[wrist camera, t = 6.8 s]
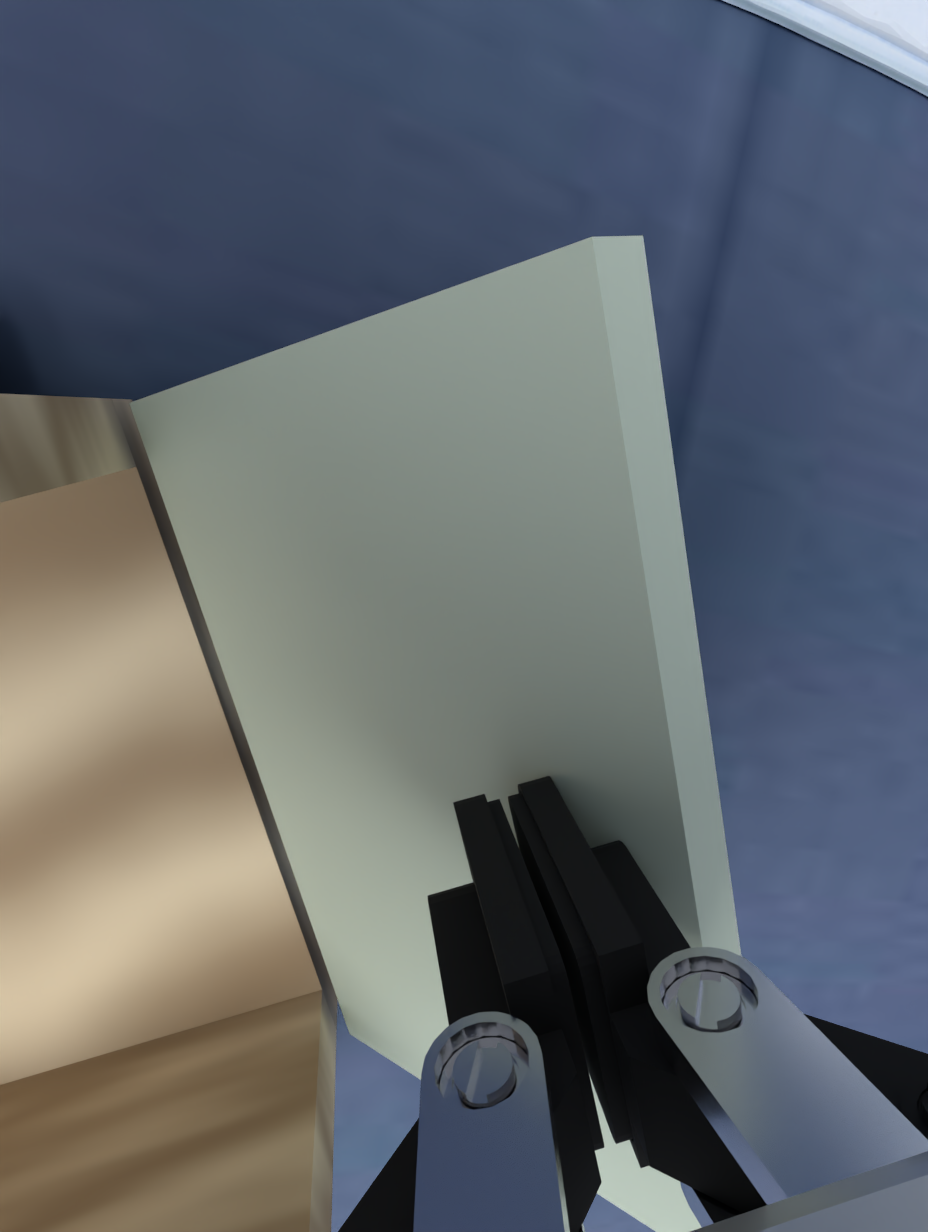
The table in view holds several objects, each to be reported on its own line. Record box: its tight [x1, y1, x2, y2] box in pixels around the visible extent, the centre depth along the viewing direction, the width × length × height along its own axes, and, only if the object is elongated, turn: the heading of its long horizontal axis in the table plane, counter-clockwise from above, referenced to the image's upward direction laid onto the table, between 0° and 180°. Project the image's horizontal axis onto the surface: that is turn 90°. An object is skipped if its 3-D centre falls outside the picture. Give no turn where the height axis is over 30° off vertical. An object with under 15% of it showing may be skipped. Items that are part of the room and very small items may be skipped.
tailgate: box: [129, 236, 741, 1232], centre depth 15 cm, size 18×2×11 cm
